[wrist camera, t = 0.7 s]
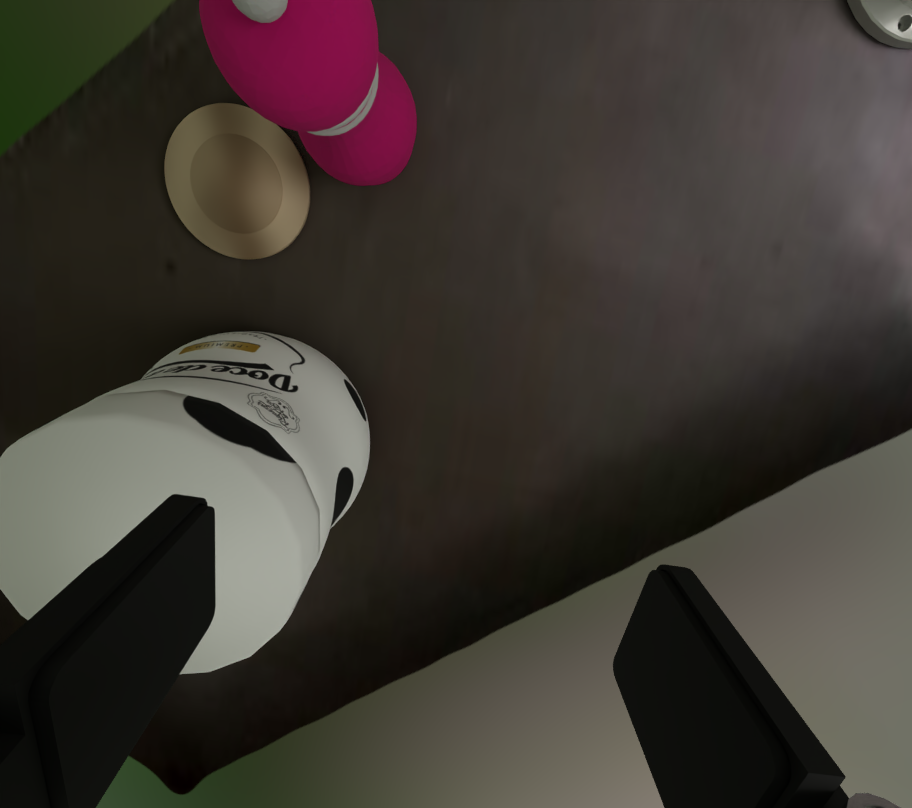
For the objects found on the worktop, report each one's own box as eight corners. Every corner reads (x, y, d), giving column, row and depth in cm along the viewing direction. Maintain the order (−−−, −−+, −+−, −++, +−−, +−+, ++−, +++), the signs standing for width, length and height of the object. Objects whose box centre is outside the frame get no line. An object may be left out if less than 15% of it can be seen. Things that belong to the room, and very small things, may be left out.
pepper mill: (296, 135, 31) (52, -41, 12) (365, 47, 29) (208, -319, 10) (373, 215, 32) (268, 174, 14) (442, 137, 31) (430, -31, 12)
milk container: (276, 276, 34) (102, 308, 17) (418, 437, 39) (393, 586, 22) (133, 405, 37) (-130, 539, 20) (279, 537, 42) (165, 734, 25)
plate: (281, 88, 30) (277, 85, 29) (328, 241, 33) (326, 241, 32) (144, 126, 30) (138, 123, 30) (204, 272, 34) (200, 273, 33)
